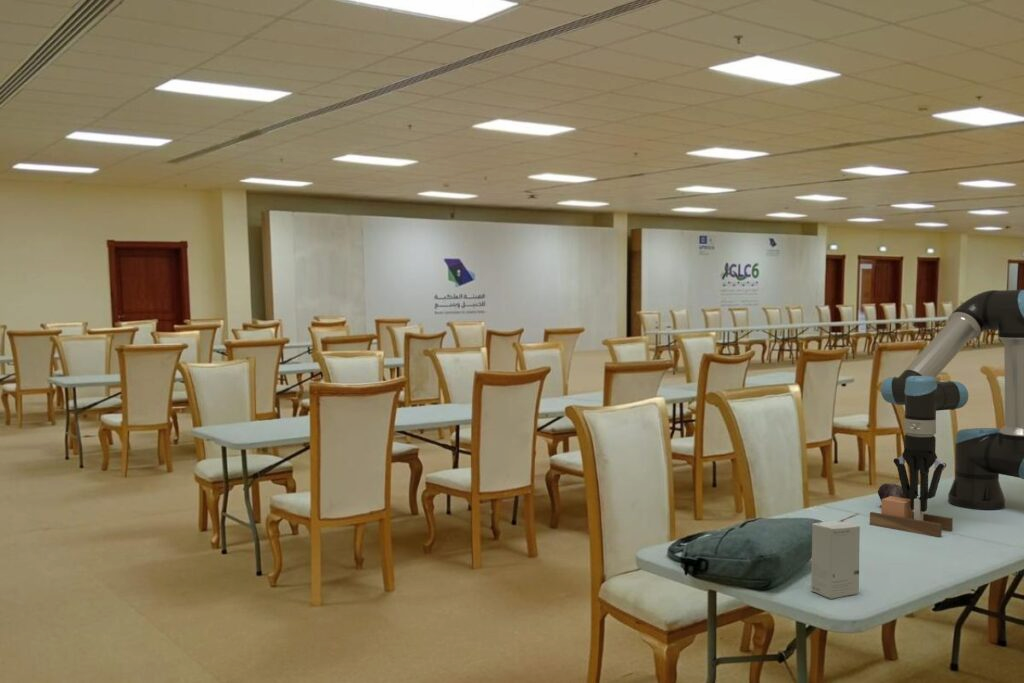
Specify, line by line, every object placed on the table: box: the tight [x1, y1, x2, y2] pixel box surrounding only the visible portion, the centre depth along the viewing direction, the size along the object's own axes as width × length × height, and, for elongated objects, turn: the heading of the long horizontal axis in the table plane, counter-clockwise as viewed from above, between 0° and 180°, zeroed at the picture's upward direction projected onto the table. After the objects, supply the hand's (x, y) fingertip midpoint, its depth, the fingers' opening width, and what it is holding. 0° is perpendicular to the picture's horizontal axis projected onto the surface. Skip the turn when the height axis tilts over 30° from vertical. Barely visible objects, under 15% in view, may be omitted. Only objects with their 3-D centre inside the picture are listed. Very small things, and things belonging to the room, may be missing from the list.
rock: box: [877, 483, 910, 501], centre depth 252 cm, size 12×9×10 cm
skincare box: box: [810, 520, 861, 600], centre depth 183 cm, size 8×6×15 cm
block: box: [880, 496, 914, 519], centre depth 233 cm, size 6×6×7 cm
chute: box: [839, 511, 954, 539], centre depth 233 cm, size 12×26×4 cm, turn 45°
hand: (918, 522), depth 229 cm, fingers closed
